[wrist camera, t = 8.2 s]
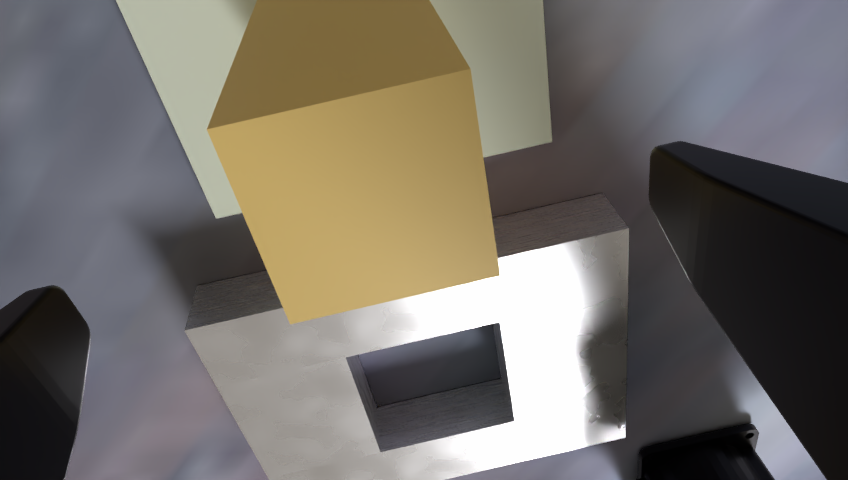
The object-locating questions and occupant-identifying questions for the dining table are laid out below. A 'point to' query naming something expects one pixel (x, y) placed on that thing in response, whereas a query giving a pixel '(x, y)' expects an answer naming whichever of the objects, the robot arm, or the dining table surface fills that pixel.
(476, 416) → the square hole plate
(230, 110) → the peg
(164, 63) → the pad
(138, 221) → the dining table surface
